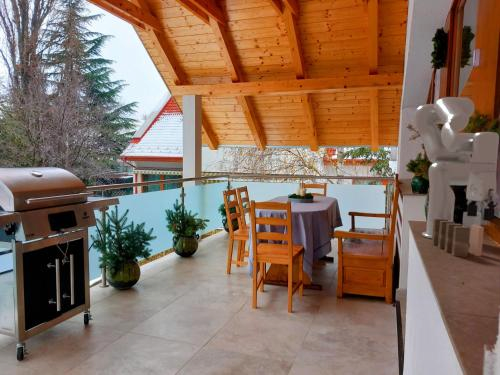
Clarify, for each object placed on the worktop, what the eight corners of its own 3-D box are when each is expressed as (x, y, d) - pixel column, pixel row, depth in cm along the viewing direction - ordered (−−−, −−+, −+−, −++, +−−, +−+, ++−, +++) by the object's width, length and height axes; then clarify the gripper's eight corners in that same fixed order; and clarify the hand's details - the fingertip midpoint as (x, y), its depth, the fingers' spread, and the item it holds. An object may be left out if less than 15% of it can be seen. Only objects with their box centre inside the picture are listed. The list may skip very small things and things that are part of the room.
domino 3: (444, 251, 135) (446, 223, 135) (457, 251, 135) (459, 224, 134) (446, 252, 134) (449, 224, 133) (459, 252, 134) (462, 224, 133)
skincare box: (471, 244, 147) (474, 213, 146) (460, 242, 151) (462, 212, 150) (479, 242, 151) (482, 212, 149) (468, 240, 154) (470, 211, 153)
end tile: (476, 255, 130) (479, 227, 129) (469, 252, 135) (471, 224, 134) (481, 256, 130) (484, 227, 129) (473, 252, 135) (476, 224, 134)
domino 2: (437, 247, 140) (440, 220, 139) (450, 247, 140) (452, 221, 139) (439, 248, 139) (442, 221, 138) (452, 249, 139) (454, 222, 138)
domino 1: (431, 244, 145) (433, 218, 144) (443, 244, 145) (445, 219, 144) (433, 245, 144) (435, 219, 143) (445, 245, 144) (448, 219, 143)
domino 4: (451, 254, 131) (453, 226, 130) (464, 255, 130) (467, 226, 129) (453, 256, 129) (456, 227, 128) (467, 256, 129) (470, 227, 128)
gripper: (459, 167, 138) (455, 214, 139) (487, 168, 121) (483, 221, 122) (479, 168, 138) (476, 215, 139) (511, 169, 121) (507, 222, 122)
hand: (479, 218), depth 131 cm, fingers open, 9 cm apart
